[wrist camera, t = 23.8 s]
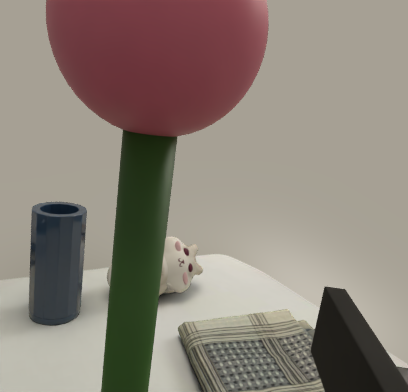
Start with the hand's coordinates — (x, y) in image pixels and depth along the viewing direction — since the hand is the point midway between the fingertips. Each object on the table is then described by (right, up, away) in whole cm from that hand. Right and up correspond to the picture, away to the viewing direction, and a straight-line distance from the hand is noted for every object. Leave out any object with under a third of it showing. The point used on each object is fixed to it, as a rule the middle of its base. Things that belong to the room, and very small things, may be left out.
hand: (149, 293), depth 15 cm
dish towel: (+10, -17, +29) cm, 35 cm away
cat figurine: (-5, -11, +44) cm, 46 cm away
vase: (-17, -11, +35) cm, 41 cm away
